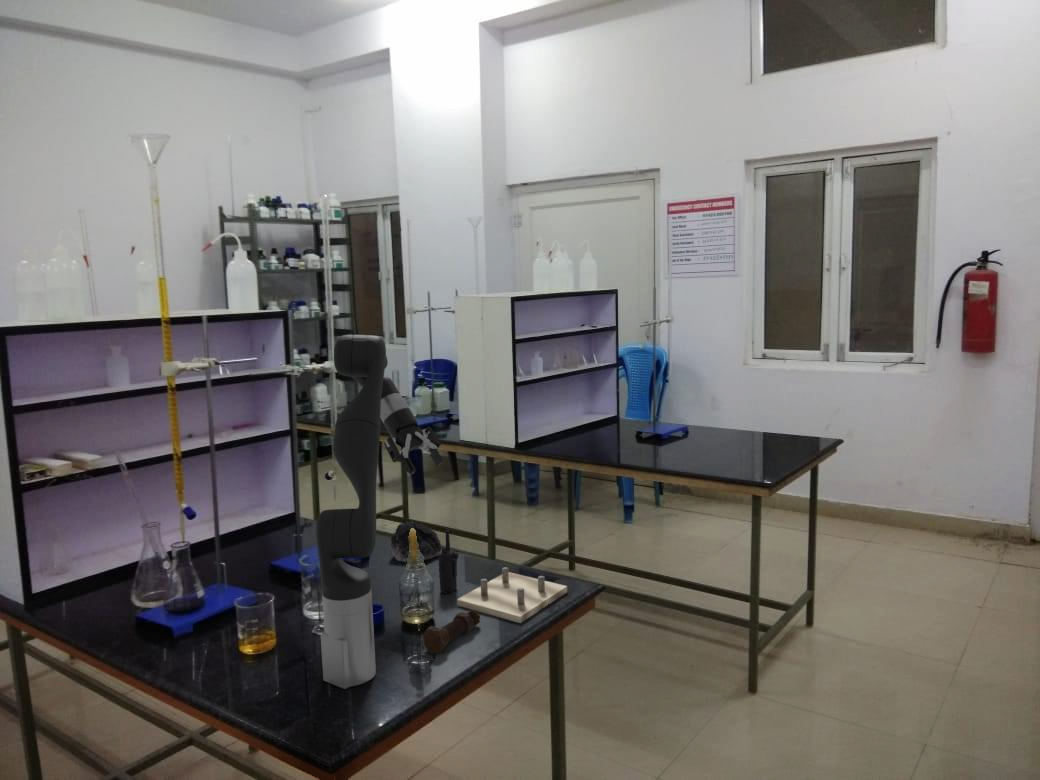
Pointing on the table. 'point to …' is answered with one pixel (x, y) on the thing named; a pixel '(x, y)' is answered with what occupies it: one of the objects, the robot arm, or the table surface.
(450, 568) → the two-way radio
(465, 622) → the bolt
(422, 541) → the crystal cluster
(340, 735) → the table surface
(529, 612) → the peg cradle
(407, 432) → the robot arm
